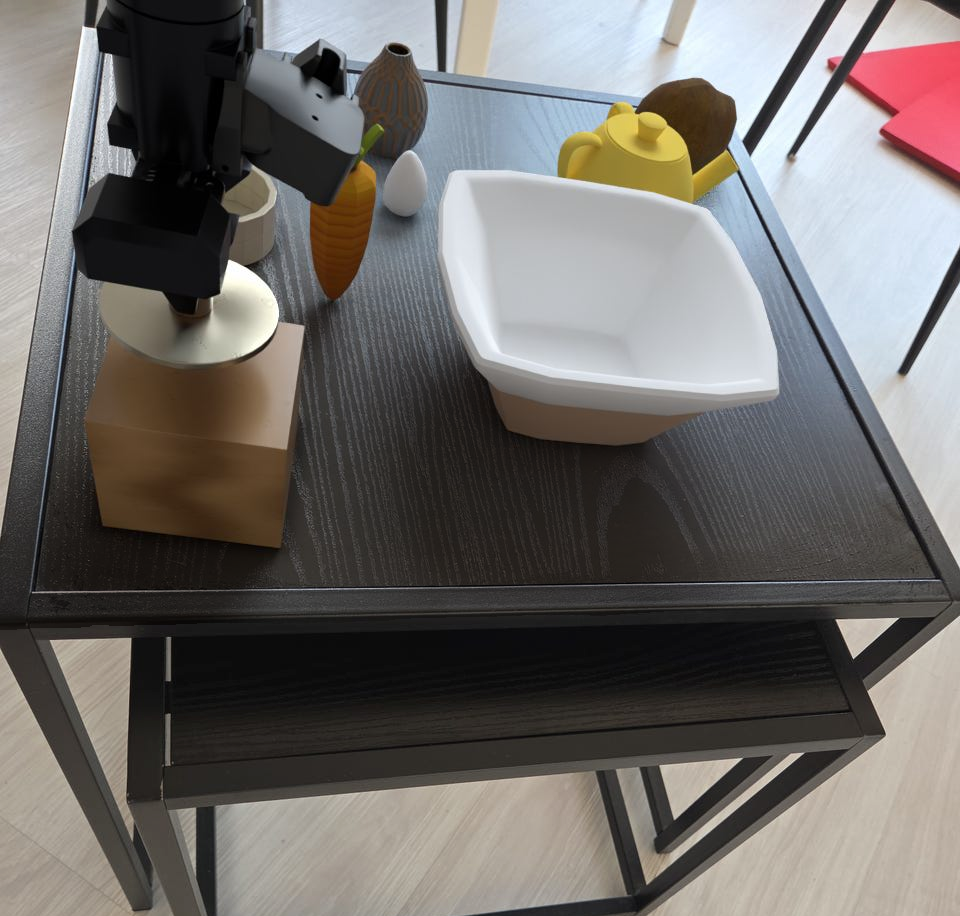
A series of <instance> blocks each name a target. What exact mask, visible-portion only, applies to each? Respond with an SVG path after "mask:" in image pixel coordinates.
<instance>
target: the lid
mask: <svg viewBox="0 0 960 916" xmlns="http://www.w3.org/2000/svg"><path fill="white" fill-rule="evenodd" d="M277 301H278V300H277V298H276V296H275V295H274V292H273V290H271V288H270V287H269V285H268V284H267V283H266V282H265V281H264V280H263V279H262V278H261V277H259V276H258V274H256V273H255V272H254V271H252V270H250V269H249V268H247V267H245V266H242V265H240V264H238V263H236V262H233V261H231V260H229V261H228V265H227V269H226V273H225V277H224V281H223V285H222V289H221V293H220V294H219V295H217V296H214V297H211V298H209V299H206V300H205V299H200V298H199V300H198V305H197V310H196V313H195V314H194V315H189V314H183V313H178V312H176V311H175V310H174V309H173V307H172V306H171V304H170V303H169V301H168V300H167V298H166V297H165V296H164V294H163V293H162V292H160V291H154V290H149V289H143V288H137V287H132V286H126V285H120V284H115V283H109V282H103V284H102V285H101V288H100V290H99V293H98V309H99V314H100V319H101V322H102V324H103V326H104V327H105V329H106V331H107V333H108V334H109V335H110V337H111V336H112V337H113V338H114V340H115V341H117V342H118V343H119V344H120V345H121V346H122V347H124V348H125V349H127V350H128V351H130V352H131V353H133V354H135V355H137V356H138V357H140V358H142V359H145V360H147V361H150V362H152V363H156V364H159V365H162V366H166V367H171V368H176V369H184V370H213V369H220V368H226V367H230V366H234V365H237V364H239V363H242V362H245V361H247V360H249V359H251V358H253V357H254V356H256V355H257V354H259V353H260V352H262V351H263V350H264V349H265V348H266V347H267V346H268V345H269V344H270V342H271V341H272V340H273V338H274V336H275V334H276V331H277V328H278V322H280V321H279V320H280V311H279V310H280V309H279V304H278V302H277Z"/></svg>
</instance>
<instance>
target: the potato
mask: <svg viewBox="0 0 960 916" xmlns="http://www.w3.org/2000/svg"><path fill="white" fill-rule="evenodd" d="M634 111H635V114H640V113H643V112H651V113H655V114H657V115H659V116H661V117H662V118H663V119H664V120H665V121H666V123H667V125H668V126H670V127H671V128H672V129H674V130H675V131H676V132H677V133H678V134H679V135H680V136H681V137H682V139H683V140H684V142H685V144H686V146H687V150H688V154H689V157H690V163H691V169H692V175H694V174H695V173H697V172H698V171H700V170H701V169H702V168H704V167H705V166H706V165H708V164H709V163H710V162H712V161H713V160H714V159H716V158H717V157H718V156H720V155H721V154H722V153H724V152H725V151H726V150H727V149H728V146H729V145H730V143H731V142H732V141H731V140H732V138H733V136H734V132H735V128H736V125H737V121H738V115H737V105H736V100H735V99H734V98H733V97H732V96H731V95H729V94H726V93H724V92H722V91H720V90H718V89H717V88H715V86H714V85H712V83H711V82H709V81H708V80H706V79H704V78H702V77H689V78H683V79H676V80H672V81H668V82H664V83H661V84H659V85H658V86H656V87H654V89H652V90H651V91H650V92H648V94H647V95H645V96H644V97H643V98H642V99H641V100H640V102H639V104H638V105H637V107H636V109H634Z"/></svg>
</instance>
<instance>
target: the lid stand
mask: <svg viewBox="0 0 960 916" xmlns="http://www.w3.org/2000/svg"><path fill="white" fill-rule="evenodd" d="M305 329H306V326H305V325H302V324H296V323H291V322H284V321H279V322H278V328H277V331H276V334H275V336H274V338H273V340H272V341H271V342H270V344H269V345H268V346H267V347H266V348H265V349H264V350H263V351H262V352H260V353H259V354H257V355H256V356H254V357H253V358H251V359H249V360H247V361H245V362H242V363H239V364H237V365H234V366H230V367H226V368H220V369H213V370H184V369H176V368H171V367H166V366H162V365H159V364H156V363H152V362H150V361H147V360H145V359H142V358H140V357H138V356H137V355H135V354H133V353H131V352H130V351H128V350H127V349H125V348H124V347H122V346H121V345H120V344H119V343H118V342H117V341H115V340H114V338H113V337H112V336H111V335H110V337H109V341H108V344H107V347H106V350H105V353H104V356H103V359H102V363H101V365H100V369H99V372H98V375H97V379H96V381H95V385H94V387H93V391H92V393H91V397H90V400H89V404H88V406H87V410H86V413H85V416H84V419H83V424H84V430H85V436H86V440H87V441H86V442H87V447H88V452H89V458H90V464H91V469H92V474H93V475H92V476H93V479H94V486H95V492H96V496H97V502H98V508H99V509H98V510H99V513H100V520H101V525H102V527H109V528H117V529H122V530H123V529H124V530H131V531H132V530H133V531H140V532H148V533H157V534H165V535H172V536H178V537H179V536H181V537H189V538H197V539H205V540H211V541H212V540H213V541H221V542H230V543H237V544H243V545H244V544H245V545H250V546H251V545H252V546H259V547H268V548H269V547H270V548H276V549H281V547H282V541H283V536H284V535H283V533H284V527H285V519H286V513H287V506H288V499H289V498H288V497H289V491H290V484H291V476H292V469H293V468H292V467H293V463H294V462H293V461H294V455H295V448H296V440H297V434H298V425H299V424H298V422H299V410H300V396H301V382H302V371H303V359H304V358H303V356H304V355H303V354H304V344H305V343H304V340H305Z"/></svg>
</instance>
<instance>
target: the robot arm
mask: <svg viewBox="0 0 960 916" xmlns="http://www.w3.org/2000/svg"><path fill="white" fill-rule="evenodd" d="M105 2H106V5H105V7H104V9H103V11H102V13H101V15H100V17H99V19H98V21H97V23H96V26H95V31H96V39H97V48H98V53H103V54H108V55H111V58H112V68H113V81H114V88H115V89H114V90H115V98H116V99H115V100H116V101H115V104H114V106H113V108H112V111H111V113H110V115H109V118H108V120H107V123H106V128H107V136H108V138H107V139H108V145H109V146H112V147H116V148H121V149H127V150H130V151H131V153H132V156H133V159H134V161H135V164H134V168H133V170H132V173H131V175H130V176H127V175H123V174H118V173H112V172H108V173H106V174H105V175H104V176H103V177H101V178H100V179H99V180H98V181H97V182H95V183H94V184H92V185H91V186H89V188H88V191H87V193H86V196H85V199H84V200H83V202H82V206H81V208H80V210H79V213H78V215H77V218H76V220H75V223H74V225H73V227H72V230H71V236H72V242H73V243H72V244H73V249H74V256H75V262H76V268H77V270H78V271H79V272H80V273H81V274H82V275H83V276H84V277H85V278H86V279H87V280H93V281H99V282H103V283H104V282H109V283H115V284H120V285H126V286H132V287H137V288H143V289H149V290H154V291H160V292H162V293H163V294H164V296H165V297H166V298H167V300H168V301H169V303H170V304H171V306H172V307H173V309H174V310H175V311H176V312H178V313H183V314H189V315H194V314H195V313H196V310H197V305H198V300H199V298H200V299H205V300H206V299H209V298H211V297H214V296H217V295H219V294H220V293H221V289H222V285H223V281H224V277H225V273H226V269H227V265H228V261H229V252H230V247H231V245H232V244H233V241H234V237H235V233H236V229H237V225H238V221H239V217H240V215H239V214H235V213H230V212H228V211H227V210H226V209H225V208H224V207H223V206H222V204H223V200H224V196H225V193H227V192H228V191H229V190H231V189H232V188H233V187H234V186H236V185H237V184H238V183H240V182H241V181H242V180H243V179H245V178H246V177H247V176H248V175H249V174H250V172H251V168H252V165H254V166H255V167H256V168H258V169H260V170H261V171H263V172H264V173H265V174H266V175H268V176H269V177H272V178H274V179H276V180H278V181H280V182H282V183H284V184H285V185H287V186H289V187H290V188H292V189H294V190H296V191H298V192H299V193H301V194H302V195H303V196H304V199H306V200H307V201H308V202H312V203H314V204H316V205H319V206H324V207H326V206H331V205H332V204H333V202H334V201H335V199H336V197H337V195H338V193H339V191H340V189H341V187H342V186H343V184H344V182H345V180H346V178H347V176H348V174H349V172H350V170H351V169H352V167H353V165H354V163H355V161H356V159H357V157H358V155H359V153H360V151H361V144H362V137H363V129H364V122H365V117H364V114H363V112H362V110H361V109H360V108H359V100H360V98H359V97H358V96H356V95H355V94H354V93H352V94H351V96H350V98H349V97H348V96H347V91H348V69H347V68H348V67H347V54H346V53H345V52H344V51H343V50H341V49H340V48H338V47H336V46H335V45H334V44H332V43H330V42H328V41H327V40H325V39H323V38H318V39H317V40H316V41H315V42H313V43H312V44H310V45H308V46H307V47H305V49H303V50H302V51H300V52H299V53H298V54H296V55H295V56H294V57H293V56H292V54H289V53H288V52H287V51H286V52H284V53H283V56H282V58H281V59H279V58H277V57H275V56H273V55H271V54H269V53H268V52H266V51H264V50H262V49H260V48H259V47H258V19H257V17H252V16H251V15H252V10H251V9H252V7H251V6H250V5H246V4H245V0H105Z"/></svg>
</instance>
